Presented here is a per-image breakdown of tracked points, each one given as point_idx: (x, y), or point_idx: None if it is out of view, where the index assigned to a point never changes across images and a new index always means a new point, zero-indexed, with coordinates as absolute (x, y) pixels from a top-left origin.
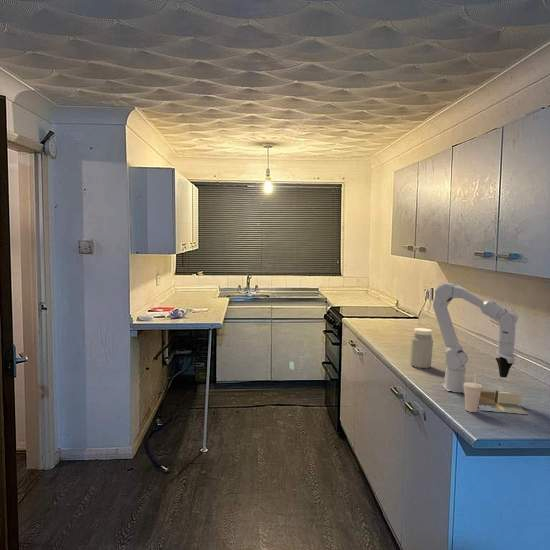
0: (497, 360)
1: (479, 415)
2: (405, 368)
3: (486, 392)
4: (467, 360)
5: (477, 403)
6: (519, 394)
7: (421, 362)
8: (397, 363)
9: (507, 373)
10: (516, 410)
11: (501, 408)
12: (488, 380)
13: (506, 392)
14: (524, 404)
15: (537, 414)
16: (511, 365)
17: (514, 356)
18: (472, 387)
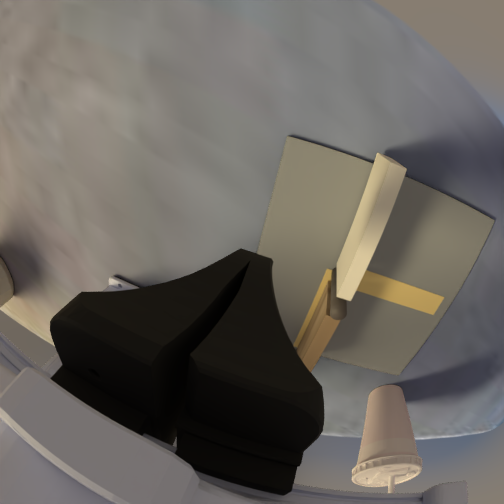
0: (172, 443)
1: (424, 390)
2: (29, 320)
3: (322, 350)
4: (56, 368)
5: (408, 415)
6: (400, 181)
7: (3, 294)
8: (10, 311)
9: (270, 281)
10: (449, 241)
11: (412, 297)
12: (33, 114)
13: (359, 257)
14: (361, 108)
15: (495, 162)
16: (298, 358)
17: (195, 486)
18: (406, 480)
